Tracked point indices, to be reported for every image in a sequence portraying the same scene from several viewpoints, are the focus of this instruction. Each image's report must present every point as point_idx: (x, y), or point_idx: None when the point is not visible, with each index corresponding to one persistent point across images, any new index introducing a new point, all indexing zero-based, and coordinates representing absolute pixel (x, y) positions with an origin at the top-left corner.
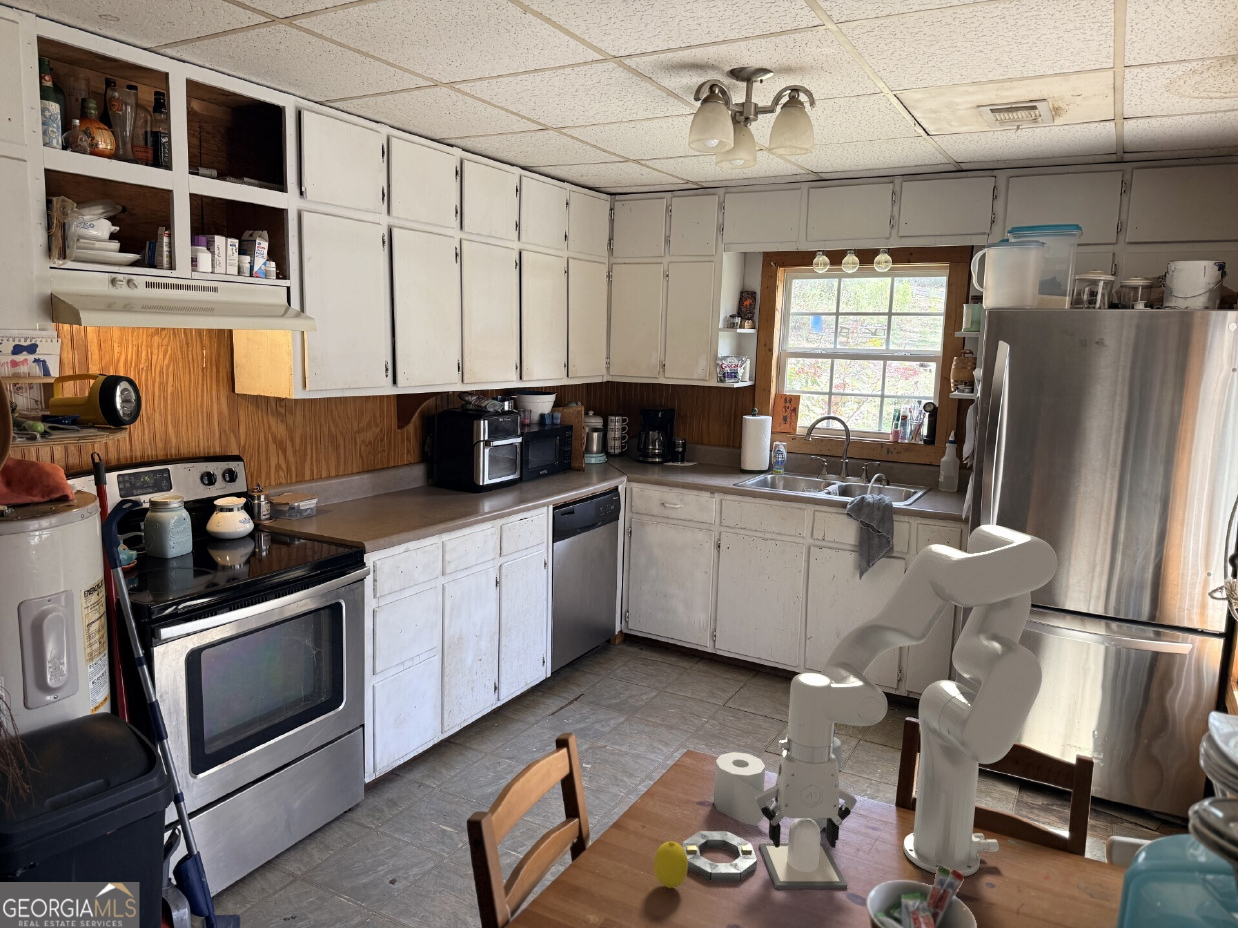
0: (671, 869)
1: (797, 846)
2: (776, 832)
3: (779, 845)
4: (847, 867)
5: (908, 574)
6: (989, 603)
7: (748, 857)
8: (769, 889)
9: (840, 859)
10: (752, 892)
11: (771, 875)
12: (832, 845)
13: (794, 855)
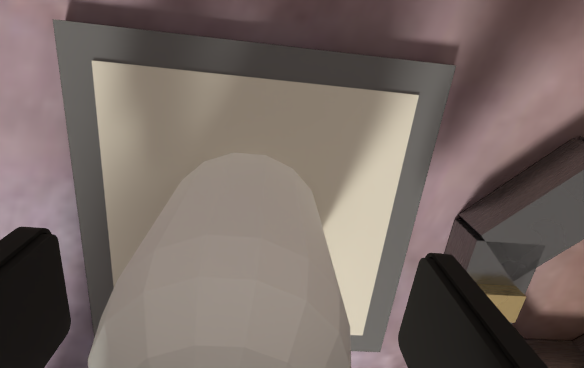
0: None
1: (312, 239)
2: (515, 333)
3: (427, 261)
4: (26, 192)
5: None
6: None
7: (508, 254)
8: (478, 61)
9: None
10: (571, 46)
11: (430, 151)
12: (37, 236)
13: (315, 216)
